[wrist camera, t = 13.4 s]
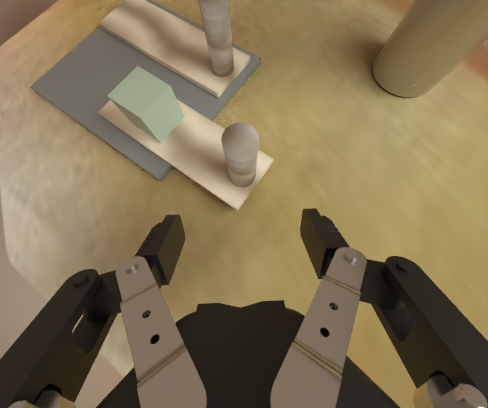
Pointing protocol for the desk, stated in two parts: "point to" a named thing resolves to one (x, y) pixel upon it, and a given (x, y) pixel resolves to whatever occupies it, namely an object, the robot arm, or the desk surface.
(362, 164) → the desk surface
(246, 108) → the desk surface
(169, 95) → the sage block
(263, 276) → the desk surface
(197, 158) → the block strip
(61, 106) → the lane board
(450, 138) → the desk surface
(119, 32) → the empty strip
